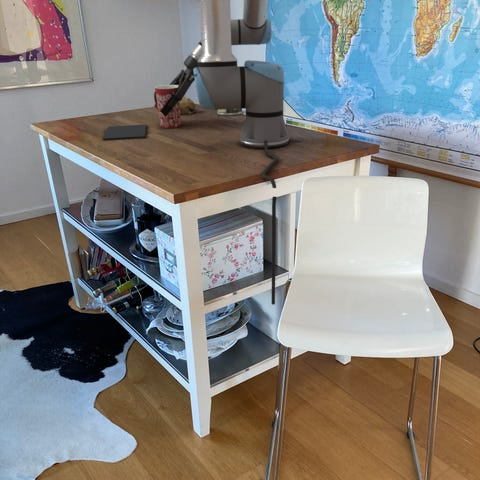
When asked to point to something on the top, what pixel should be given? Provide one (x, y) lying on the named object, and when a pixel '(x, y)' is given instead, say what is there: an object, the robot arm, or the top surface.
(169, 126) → the mug
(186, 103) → the bread roll
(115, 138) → the mat
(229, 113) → the coffee can
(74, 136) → the top surface
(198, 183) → the top surface
